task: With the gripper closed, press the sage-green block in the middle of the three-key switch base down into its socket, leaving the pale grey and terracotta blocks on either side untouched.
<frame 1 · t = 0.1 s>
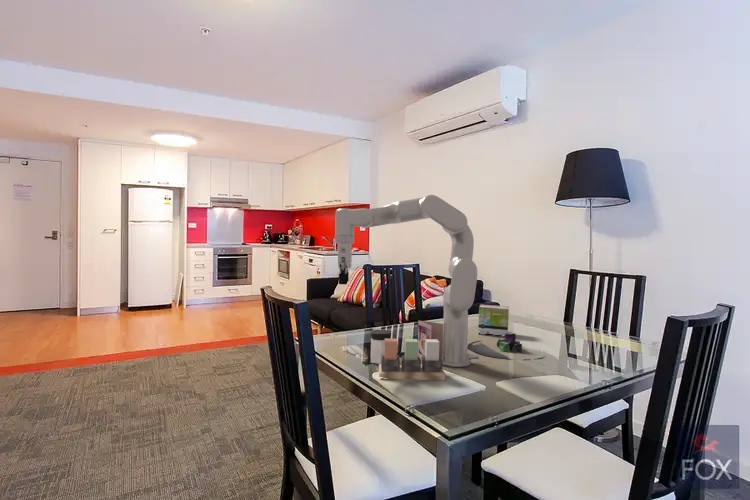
hand: (343, 282, 170), 31 cm above the table, tool pointing down, fingers open, 9 cm apart
grey button: (432, 350, 155), point 9 cm above the table, slide at 0.0 cm
tea box: (493, 334, 226), on the table
greeting card: (430, 359, 177), on the table, touching arm
terracotta button: (390, 349, 155), point 9 cm above the table, slide at 0.0 cm
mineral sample: (506, 351, 194), on the table
jar: (380, 362, 171), on the table
green button: (411, 349, 155), point 9 cm above the table, slide at 0.0 cm
three-key switch base: (410, 374, 155), on the table
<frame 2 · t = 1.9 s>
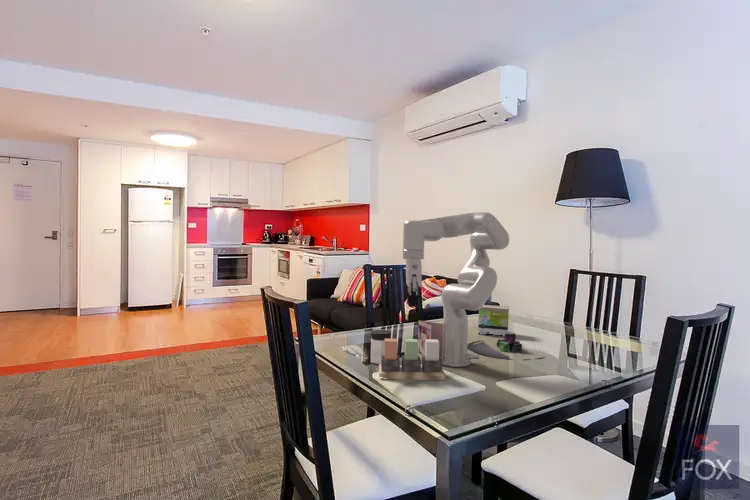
hand: (412, 304, 154), 25 cm above the table, tool pointing down, fingers open, 5 cm apart
nothing on the table moved.
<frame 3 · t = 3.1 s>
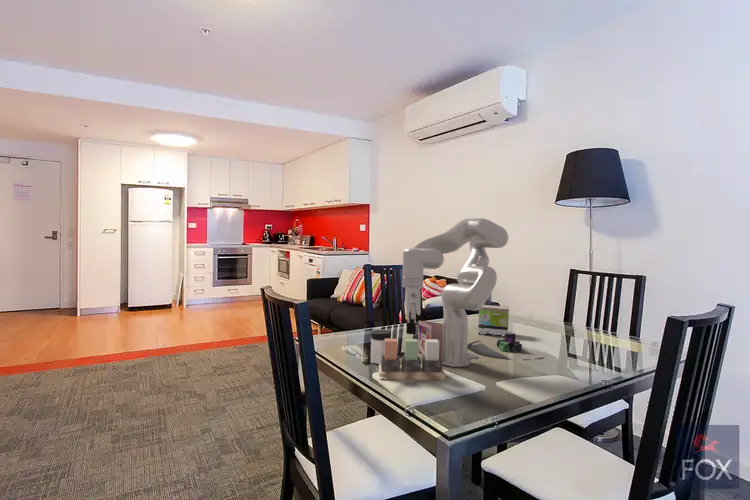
hand: (410, 333, 154), 15 cm above the table, tool pointing down, fingers closed
nothing on the table moved.
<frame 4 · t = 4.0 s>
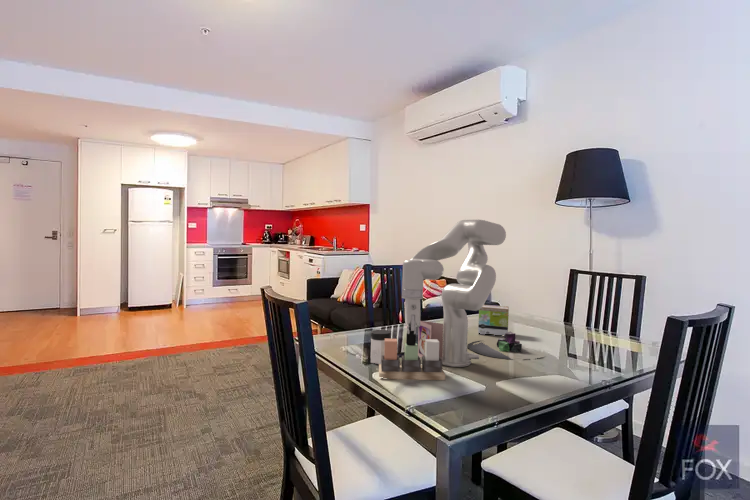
hand: (410, 344, 154), 11 cm above the table, tool pointing down, fingers closed
green button: (411, 354, 155), point 7 cm above the table, slide at 1.6 cm, touching gripper
everything else where it was.
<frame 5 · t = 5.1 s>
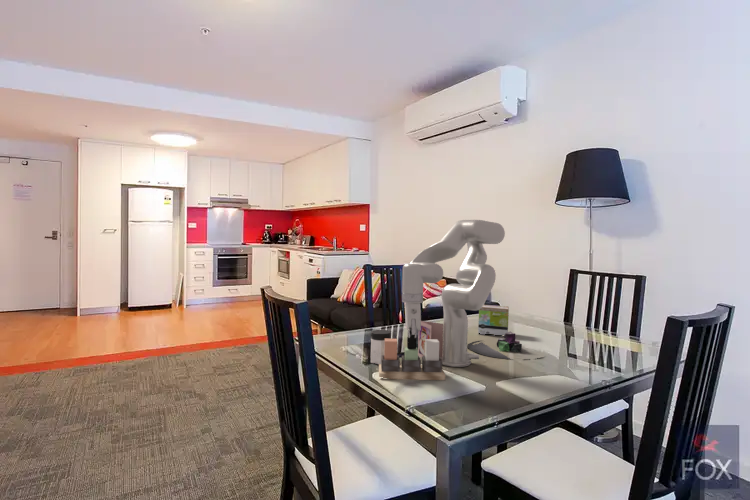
hand: (411, 348, 155), 10 cm above the table, tool pointing down, fingers closed
green button: (411, 358, 155), point 6 cm above the table, slide at 3.1 cm
everything else where it was.
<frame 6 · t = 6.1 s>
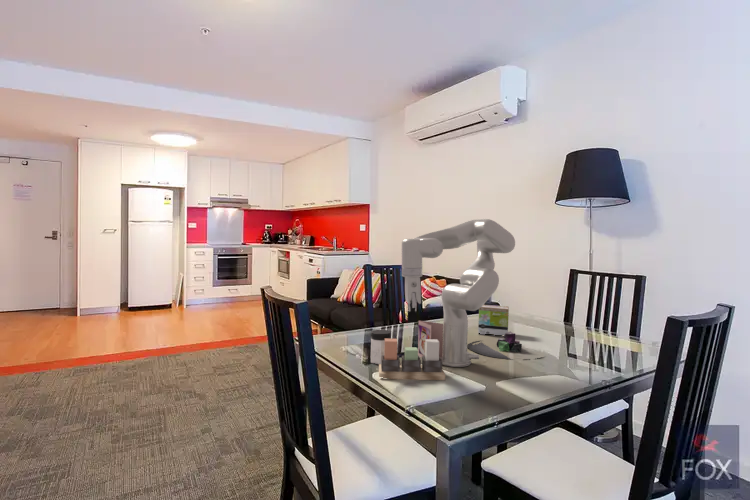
hand: (412, 321, 158), 19 cm above the table, tool pointing down, fingers closed
nothing on the table moved.
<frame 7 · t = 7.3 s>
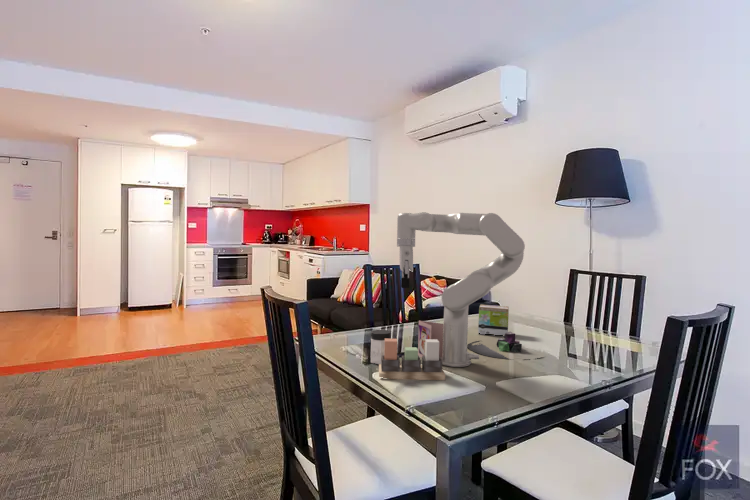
hand: (405, 287, 176), 29 cm above the table, tool pointing down, fingers closed
nothing on the table moved.
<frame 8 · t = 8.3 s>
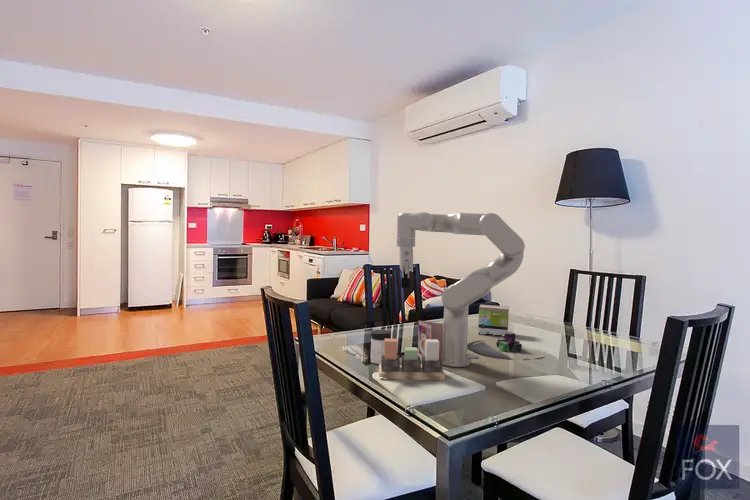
hand: (405, 287, 176), 29 cm above the table, tool pointing down, fingers closed
nothing on the table moved.
at the end: green button slide at 3.1 cm; grey button slide at 0.0 cm; terracotta button slide at 0.0 cm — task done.
